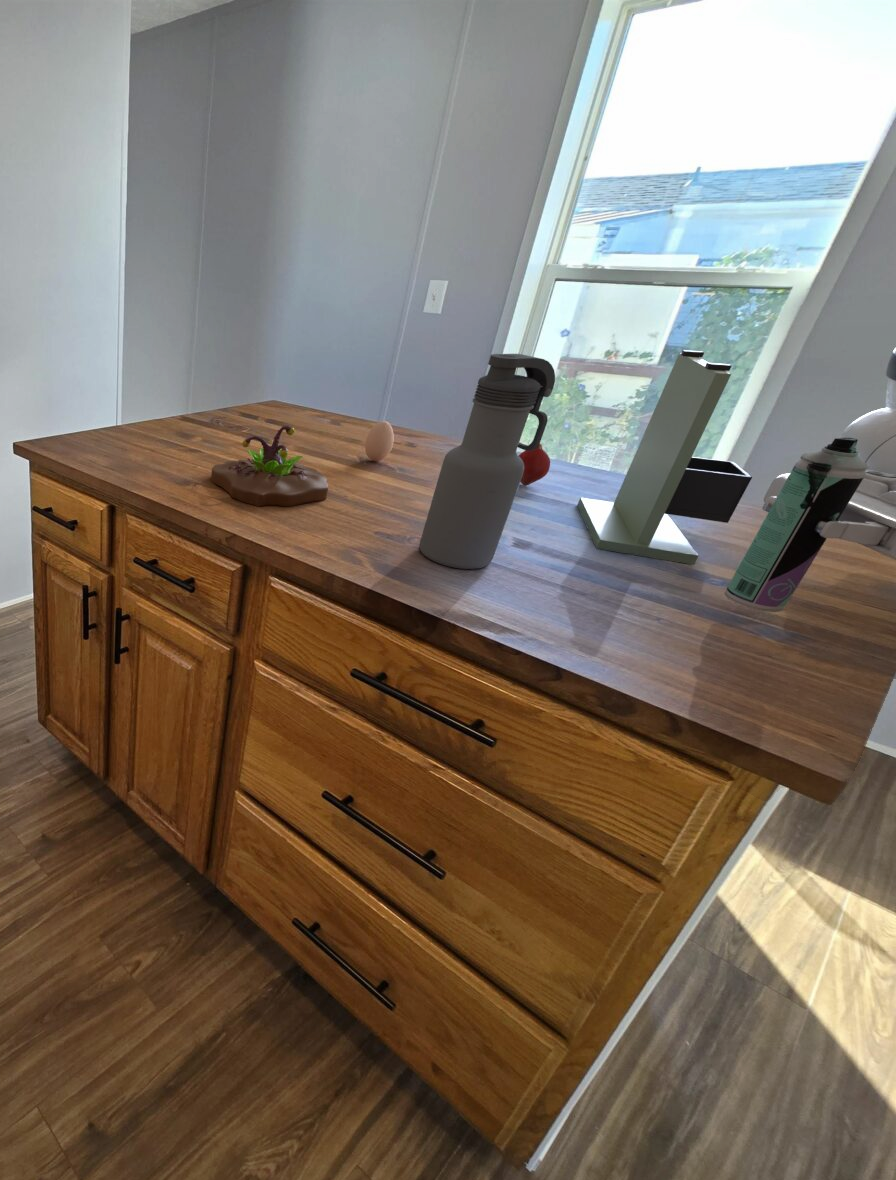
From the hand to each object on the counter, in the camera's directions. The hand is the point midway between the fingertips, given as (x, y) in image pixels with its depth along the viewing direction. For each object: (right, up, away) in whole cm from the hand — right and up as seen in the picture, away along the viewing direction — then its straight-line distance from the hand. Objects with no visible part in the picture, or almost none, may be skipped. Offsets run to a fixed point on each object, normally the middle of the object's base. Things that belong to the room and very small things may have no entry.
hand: (793, 516), depth 74 cm
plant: (-47, +11, +47) cm, 67 cm away
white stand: (+8, +1, +30) cm, 31 cm away
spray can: (+1, -10, +5) cm, 11 cm away
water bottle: (-27, -3, +22) cm, 35 cm away
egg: (-21, +19, +61) cm, 68 cm away
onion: (+2, +12, +50) cm, 51 cm away
